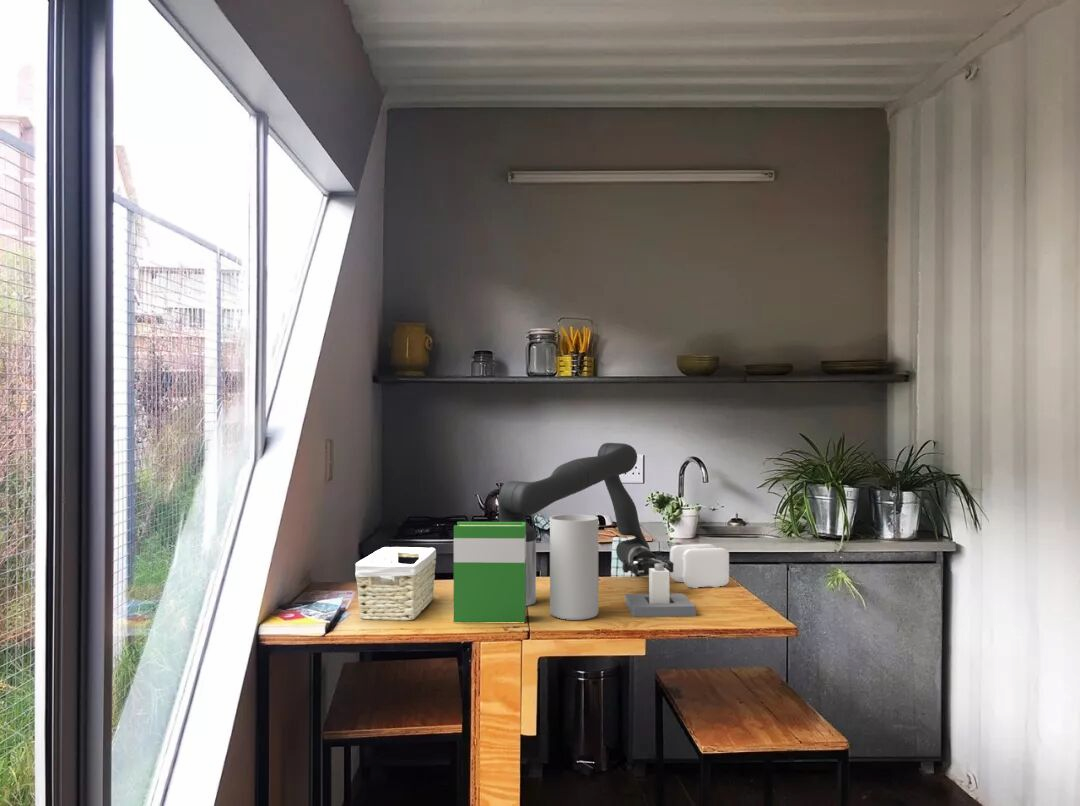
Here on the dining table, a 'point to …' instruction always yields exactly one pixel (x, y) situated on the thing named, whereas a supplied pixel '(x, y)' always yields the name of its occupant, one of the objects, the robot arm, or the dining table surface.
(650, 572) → the white block with knob
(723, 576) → the white napkin holder
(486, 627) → the dining table surface
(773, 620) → the dining table surface
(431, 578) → the storage basket
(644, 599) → the socket plate
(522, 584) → the green cereal box
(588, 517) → the cylinder vase
